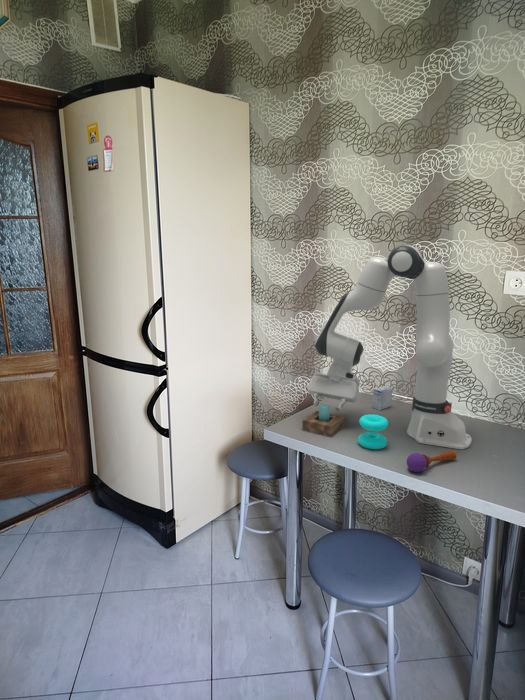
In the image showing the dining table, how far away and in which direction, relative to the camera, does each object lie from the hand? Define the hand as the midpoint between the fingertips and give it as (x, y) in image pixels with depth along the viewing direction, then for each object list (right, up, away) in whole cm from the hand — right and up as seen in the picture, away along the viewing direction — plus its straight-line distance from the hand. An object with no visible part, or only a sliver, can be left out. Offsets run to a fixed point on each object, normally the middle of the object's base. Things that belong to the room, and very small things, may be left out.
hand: (326, 407), depth 177 cm
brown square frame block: (-1, -8, +1) cm, 8 cm away
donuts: (+14, -12, -14) cm, 23 cm away
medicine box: (+27, -3, +25) cm, 37 cm away
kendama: (+30, -16, -29) cm, 44 cm away
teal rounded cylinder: (-1, -8, +1) cm, 8 cm away
